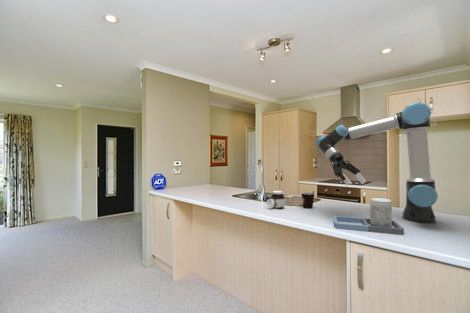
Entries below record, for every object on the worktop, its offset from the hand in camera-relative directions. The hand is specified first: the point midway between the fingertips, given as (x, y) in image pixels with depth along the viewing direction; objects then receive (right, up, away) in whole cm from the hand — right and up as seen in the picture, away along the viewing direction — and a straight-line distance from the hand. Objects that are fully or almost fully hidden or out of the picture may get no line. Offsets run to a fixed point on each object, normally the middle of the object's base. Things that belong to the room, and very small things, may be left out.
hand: (356, 183), depth 134 cm
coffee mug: (-16, -21, +37) cm, 46 cm away
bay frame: (0, -22, -9) cm, 23 cm away
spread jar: (-40, -21, +34) cm, 56 cm away
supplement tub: (+7, -22, -11) cm, 25 cm away
